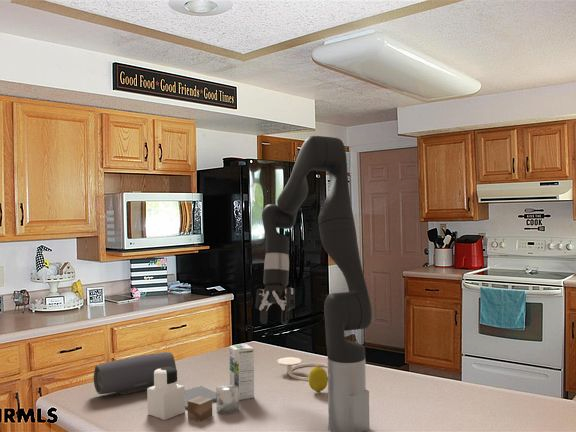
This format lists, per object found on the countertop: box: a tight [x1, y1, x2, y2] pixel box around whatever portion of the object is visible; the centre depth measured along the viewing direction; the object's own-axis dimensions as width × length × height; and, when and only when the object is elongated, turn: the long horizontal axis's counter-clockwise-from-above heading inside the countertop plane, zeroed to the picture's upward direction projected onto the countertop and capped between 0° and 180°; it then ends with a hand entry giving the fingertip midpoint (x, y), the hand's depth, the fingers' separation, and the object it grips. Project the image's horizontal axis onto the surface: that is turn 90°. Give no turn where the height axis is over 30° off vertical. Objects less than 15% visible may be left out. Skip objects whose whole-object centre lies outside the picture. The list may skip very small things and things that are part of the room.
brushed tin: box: [215, 383, 240, 415], centre depth 148 cm, size 6×6×6 cm
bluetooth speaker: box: [93, 351, 177, 395], centre depth 166 cm, size 23×9×10 cm, turn 126°
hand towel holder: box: [276, 356, 328, 382], centre depth 179 cm, size 17×4×20 cm
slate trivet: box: [185, 385, 216, 410], centre depth 157 cm, size 12×12×1 cm
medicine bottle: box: [146, 367, 186, 421], centre depth 146 cm, size 7×7×12 cm
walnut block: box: [187, 396, 213, 423], centre depth 143 cm, size 4×4×4 cm
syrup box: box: [229, 343, 255, 401], centre depth 158 cm, size 6×6×14 cm
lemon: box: [308, 366, 328, 394], centre depth 160 cm, size 6×6×8 cm
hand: (273, 323), depth 163 cm, fingers open, 8 cm apart
